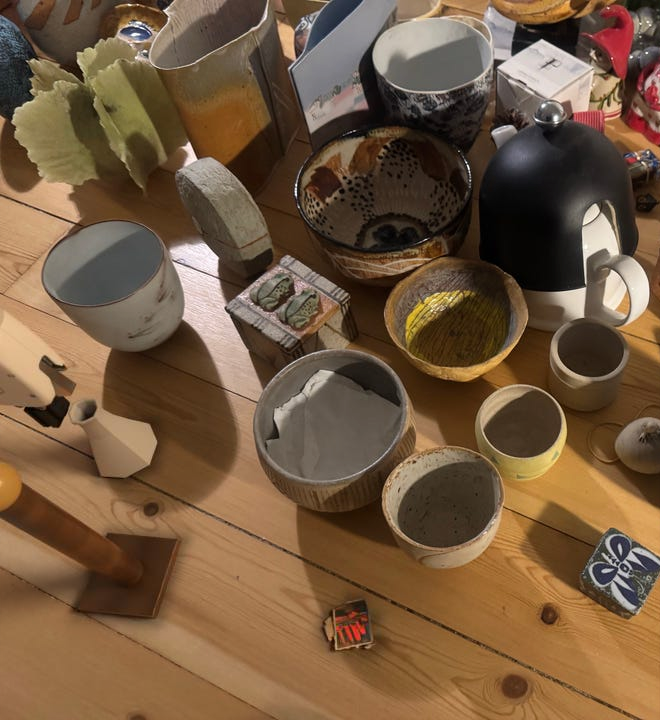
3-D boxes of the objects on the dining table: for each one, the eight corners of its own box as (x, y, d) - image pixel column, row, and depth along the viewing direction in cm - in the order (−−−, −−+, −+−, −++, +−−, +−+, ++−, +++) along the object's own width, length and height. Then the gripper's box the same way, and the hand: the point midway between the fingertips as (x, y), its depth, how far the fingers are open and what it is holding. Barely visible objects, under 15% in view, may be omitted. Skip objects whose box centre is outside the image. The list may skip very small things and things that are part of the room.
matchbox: (363, 594, 73) (362, 593, 73) (381, 641, 71) (381, 640, 70) (320, 615, 72) (319, 614, 72) (337, 664, 70) (336, 663, 69)
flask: (158, 471, 81) (118, 432, 73) (93, 486, 81) (45, 448, 72) (158, 416, 85) (119, 373, 77) (96, 430, 84) (50, 389, 76)
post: (82, 610, 73) (-105, 524, 51) (111, 535, 78) (-50, 425, 55) (156, 618, 73) (0, 533, 50) (181, 541, 77) (47, 432, 54)
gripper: (-163, 346, 59) (-24, 442, 75) (4, 357, 58) (111, 452, 74) (-115, 276, 63) (8, 381, 79) (43, 285, 62) (136, 390, 78)
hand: (57, 415), depth 76 cm, fingers closed
